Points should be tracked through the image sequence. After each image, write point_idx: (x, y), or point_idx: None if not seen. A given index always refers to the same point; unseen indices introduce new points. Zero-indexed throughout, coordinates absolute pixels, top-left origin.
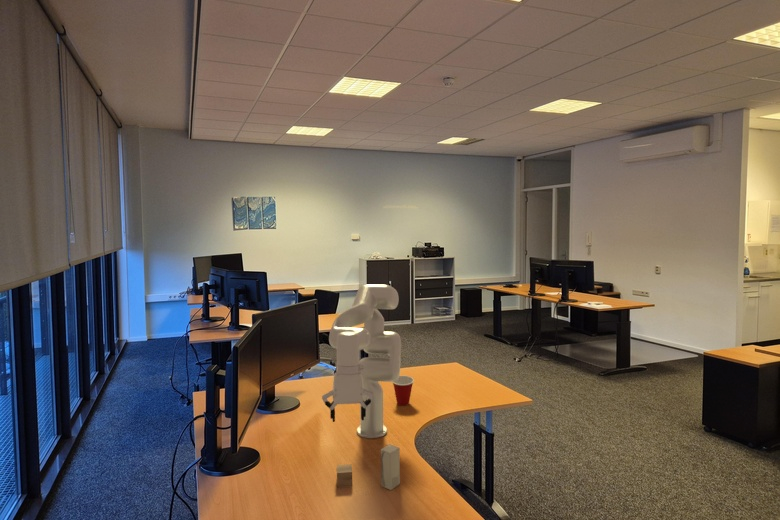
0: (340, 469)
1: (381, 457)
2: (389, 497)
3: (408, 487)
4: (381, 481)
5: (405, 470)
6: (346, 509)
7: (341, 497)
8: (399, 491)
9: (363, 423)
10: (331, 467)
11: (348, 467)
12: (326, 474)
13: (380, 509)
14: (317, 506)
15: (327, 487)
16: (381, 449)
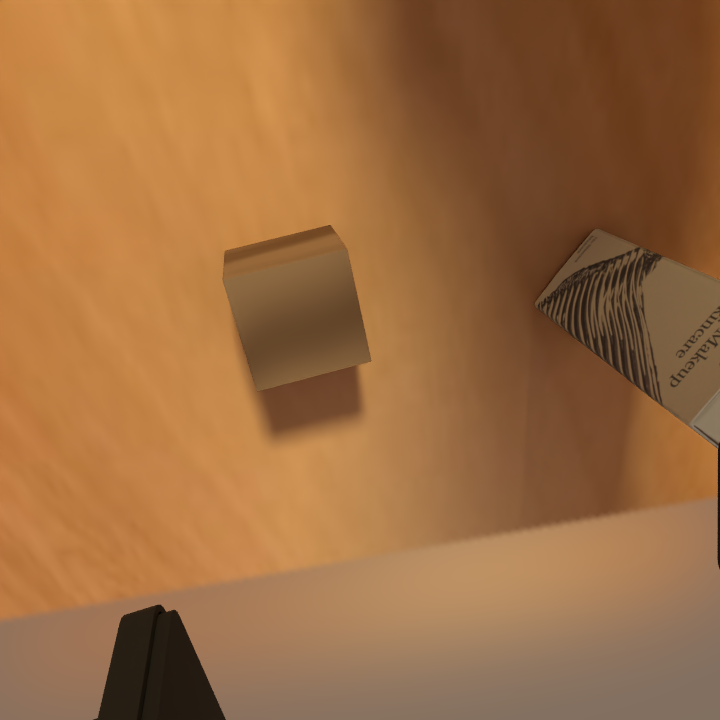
0: (271, 337)
1: (651, 397)
2: (572, 405)
3: None
4: (549, 317)
5: (708, 84)
6: (353, 532)
7: (305, 443)
8: None
9: None
10: (124, 66)
11: (331, 302)
12: (119, 189)
13: (522, 504)
14: (188, 536)
15: (186, 357)
16: (699, 423)
